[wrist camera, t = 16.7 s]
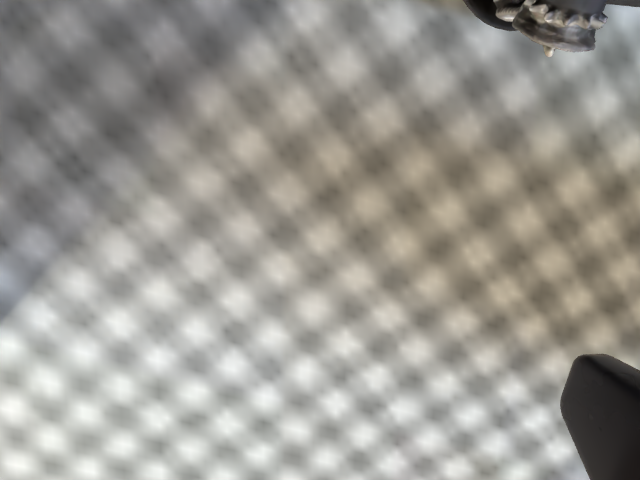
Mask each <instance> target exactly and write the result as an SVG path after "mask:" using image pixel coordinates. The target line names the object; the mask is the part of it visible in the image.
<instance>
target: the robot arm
mask: <svg viewBox="0 0 640 480" xmlns="http://www.w3.org/2000/svg"><path fill="white" fill-rule="evenodd" d="M560 407H561V413H562V416H563V419H564V421H565V423H566V425H567V428H568V430H569V432H570V435H571V437H572V439H573V441H574V444H575V446H576V448H577V450H578V453H579V455H580V457H581V460H582V462H583V464H584V466H585V469H586V471H587V473H588V475H589V478H590V480H640V370H638V369H636V368H634V367H632V366H630V365H628V364H626V363H624V362H622V361H620V360H618V359H616V358H614V357H612V356H609V355H606V354H586V355H581V356H578V357H577V358H576V359H575V360H574V362H573V364H572V367H571V370H570V373H569V376H568V379H567V381H566V384H565V387H564V390H563V393H562V396H561V401H560Z"/></svg>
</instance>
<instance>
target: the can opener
mask: <svg viewBox="0 0 640 480" xmlns="http://www.w3.org/2000/svg"><path fill="white" fill-rule="evenodd" d="M463 1H464V2H465V4H466V5H467V7H468V8H469V9H470V10H471V11H472V12H473V13H474V15H475V16H476V17H478V18H479V19H480V20H482V21H483V22H484V23H486V24H488V25H490V26H493V27H495V28H498V29H503V30H507V31H517V30H519V31H520V32H521V33H522V34H524V35H525V36H527V37H529V38H530V39H531V40H532V41H534V42H537V43H539V44H542V45H543V47H544V51H545V54H546V56H548V57H551V56H552V55H553V53H554V50H555V49H560V50H565V51H570V52H582V51H590V50H594V49H595V44H594V43H595V42H596V41H595V38H594V36H595V31H596V29H597V30H598V29H600V28H602V27H603V26H604V23H606V21H607V18H608V17H607V16H606V15H605V14H603V12H602V11H603V10H604V7H605V5H606V4H614V5H622V6H632V7H640V0H463Z"/></svg>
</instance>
